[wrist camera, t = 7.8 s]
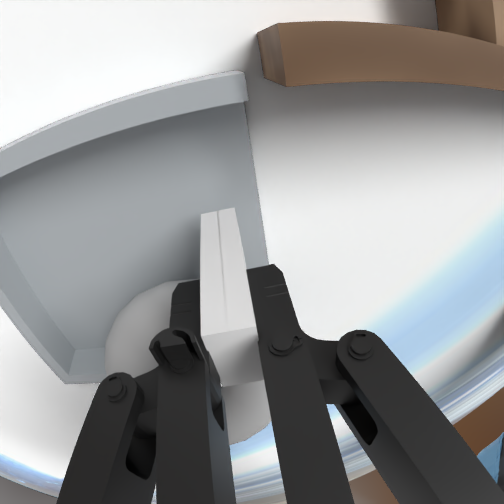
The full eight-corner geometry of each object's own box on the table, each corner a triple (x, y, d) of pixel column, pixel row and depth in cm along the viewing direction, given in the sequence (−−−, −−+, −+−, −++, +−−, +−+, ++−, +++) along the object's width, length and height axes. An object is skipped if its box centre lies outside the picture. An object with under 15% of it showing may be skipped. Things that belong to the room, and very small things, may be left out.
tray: (277, 326, 20) (285, 357, 18) (72, 356, 20) (65, 384, 18) (237, 70, 11) (244, 72, 9) (-37, 169, 11) (-64, 190, 9)
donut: (333, 335, 14) (250, 476, 15) (316, 310, 17) (249, 440, 18) (119, 254, 13) (83, 418, 14) (142, 243, 16) (104, 388, 18)
